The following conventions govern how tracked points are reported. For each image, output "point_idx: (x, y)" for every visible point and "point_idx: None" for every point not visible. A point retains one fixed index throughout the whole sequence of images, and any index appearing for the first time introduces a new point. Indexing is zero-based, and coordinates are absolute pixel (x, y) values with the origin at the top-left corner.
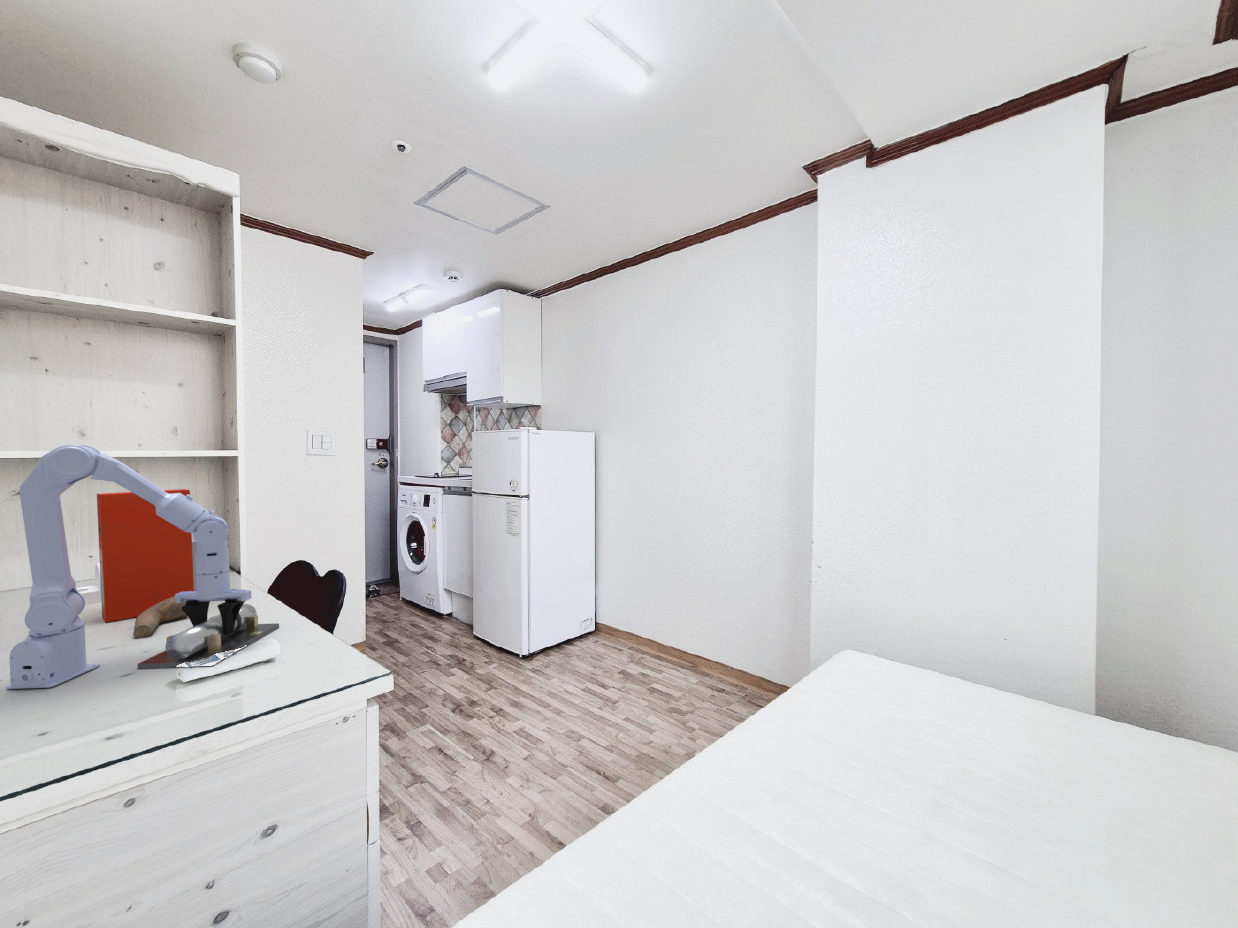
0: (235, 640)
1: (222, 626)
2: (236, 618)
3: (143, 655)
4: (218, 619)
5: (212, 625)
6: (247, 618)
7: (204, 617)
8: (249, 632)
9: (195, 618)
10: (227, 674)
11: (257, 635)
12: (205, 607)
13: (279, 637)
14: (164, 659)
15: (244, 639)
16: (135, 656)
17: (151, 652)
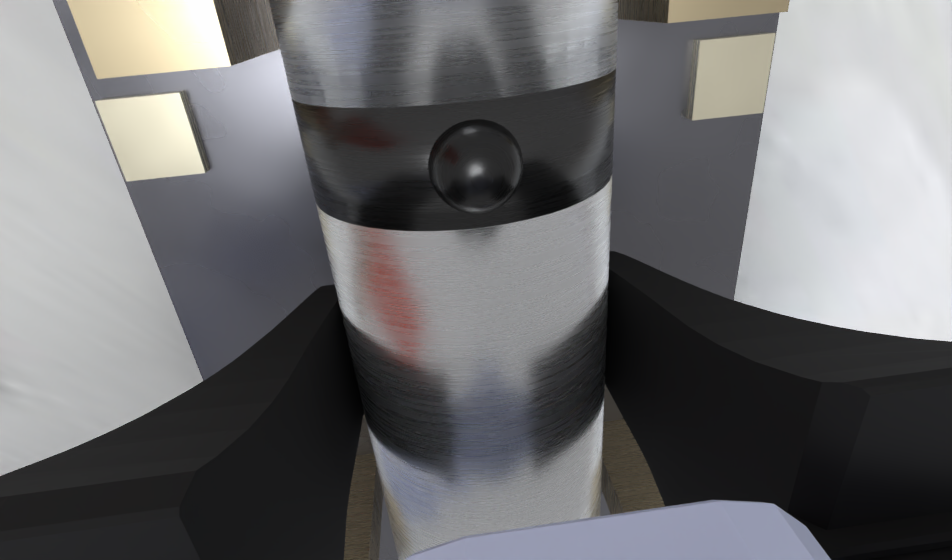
0: (627, 244)
1: (618, 406)
2: (702, 291)
3: (69, 430)
4: (558, 418)
5: (584, 502)
6: (675, 19)
7: (314, 395)
8: (630, 25)
9: (344, 545)
10: None
11: (757, 114)
12: (279, 488)
13: (907, 39)
14: (388, 541)
15: (690, 217)
16: (30, 447)
17: (58, 386)
